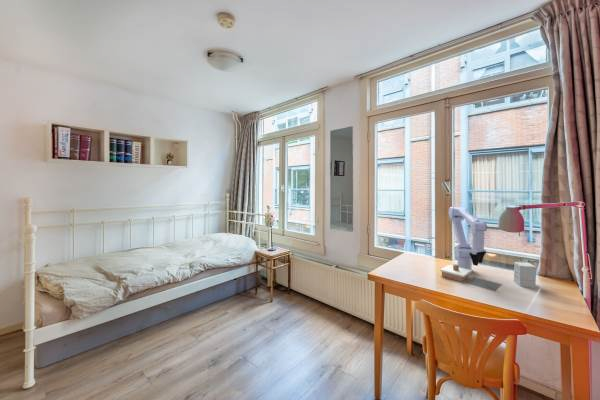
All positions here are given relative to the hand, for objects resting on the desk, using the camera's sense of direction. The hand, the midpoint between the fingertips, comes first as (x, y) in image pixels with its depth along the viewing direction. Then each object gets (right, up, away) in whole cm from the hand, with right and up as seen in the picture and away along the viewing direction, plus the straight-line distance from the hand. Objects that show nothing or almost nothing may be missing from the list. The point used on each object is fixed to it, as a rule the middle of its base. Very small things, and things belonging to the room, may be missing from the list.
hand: (477, 263), depth 150 cm
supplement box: (+22, -11, -7) cm, 26 cm away
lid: (-10, -6, +5) cm, 13 cm away
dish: (-10, -10, +6) cm, 15 cm away
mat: (0, -11, -5) cm, 12 cm away
